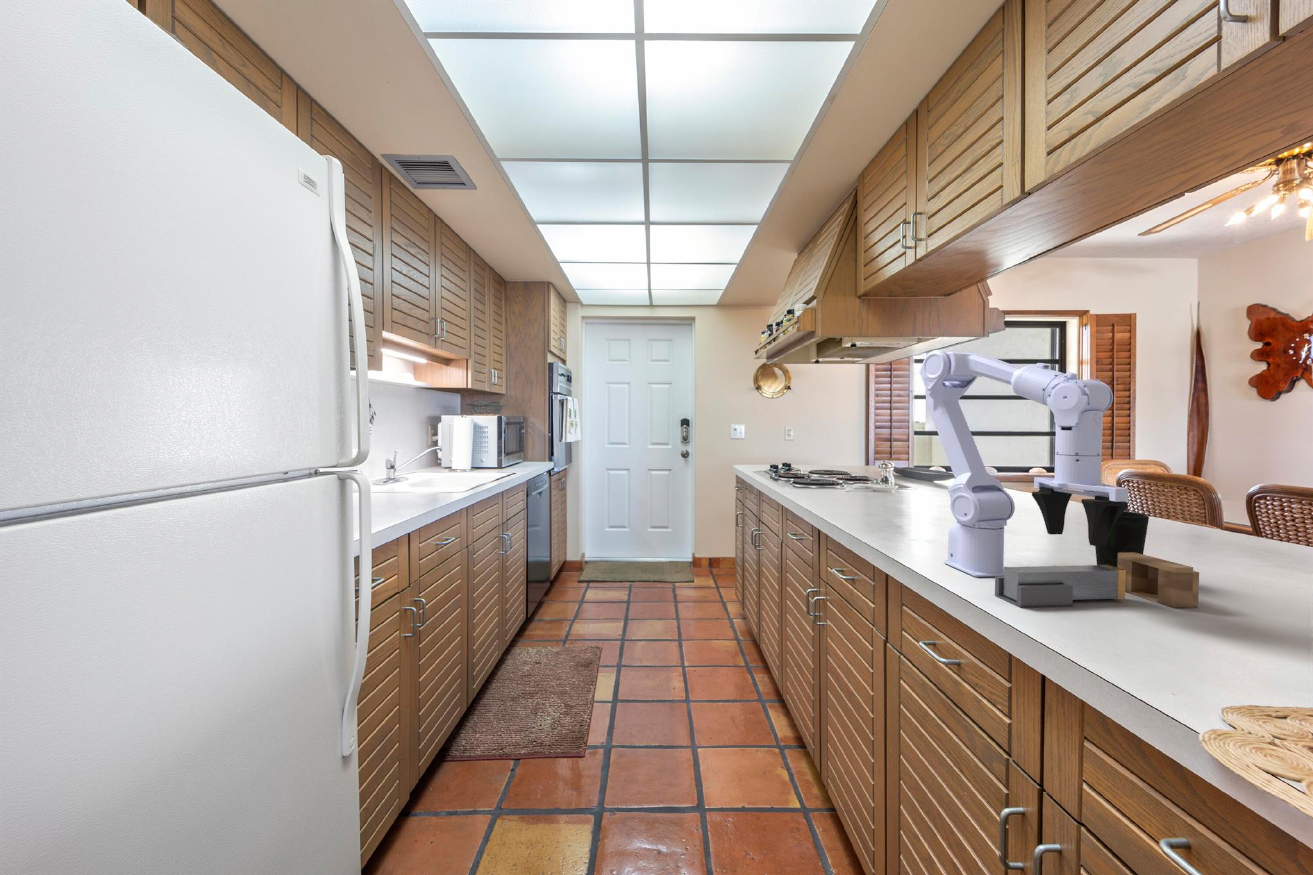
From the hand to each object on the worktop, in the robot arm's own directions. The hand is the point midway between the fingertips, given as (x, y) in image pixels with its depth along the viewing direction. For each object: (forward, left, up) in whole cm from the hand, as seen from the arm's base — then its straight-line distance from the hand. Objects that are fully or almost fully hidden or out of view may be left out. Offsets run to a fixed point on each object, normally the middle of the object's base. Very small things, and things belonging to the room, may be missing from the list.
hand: (1075, 539), depth 81 cm
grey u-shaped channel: (0, -7, -10) cm, 12 cm away
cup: (-10, +18, -10) cm, 23 cm away
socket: (0, +14, -10) cm, 17 cm away
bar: (0, -2, -10) cm, 10 cm away
